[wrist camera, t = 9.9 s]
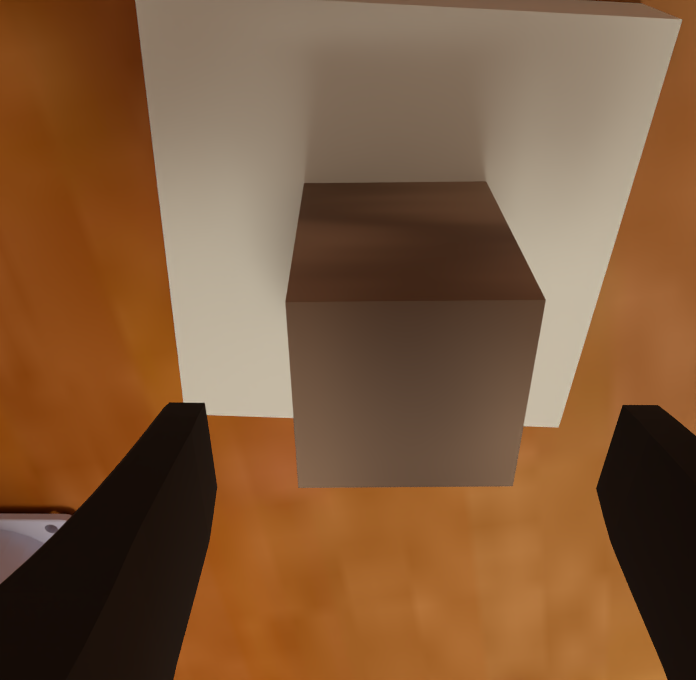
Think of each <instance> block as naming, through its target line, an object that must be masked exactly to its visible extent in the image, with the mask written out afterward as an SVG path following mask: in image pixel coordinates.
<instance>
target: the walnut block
mask: <svg viewBox="0 0 696 680" xmlns="http://www.w3.org/2000/svg"><path fill="white" fill-rule="evenodd" d="M545 302H546V299H545V297H544V295H543V293H542V291H541V289H540V287H539V285H538V283H537V281H536V279H535V277H534V275H533V273H532V271H531V269H530V267H529V265H528V263H527V261H526V259H525V257H524V255H523V253H522V251H521V249H520V247H519V246H518V244H517V242H516V240H515V238H514V236H513V234H512V232H511V230H510V228H509V226H508V224H507V222H506V220H505V218H504V216H503V214H502V212H501V210H500V208H499V206H498V204H497V202H496V200H495V198H494V196H493V194H492V192H491V190H490V188H489V186H488V184H487V182H486V181H474V182H371V183H304V186H303V192H302V199H301V205H300V211H299V218H298V224H297V230H296V237H295V243H294V250H293V256H292V262H291V269H290V275H289V281H288V288H287V294H286V300H285V306H286V320H287V334H288V348H289V362H290V376H291V390H292V404H293V418H294V432H295V446H296V460H297V474H298V488H332V487H468V486H513V482H514V476H515V471H516V465H517V459H518V454H519V448H520V442H521V437H522V431H523V426H524V420H525V414H526V409H527V403H528V397H529V392H530V386H531V381H532V375H533V369H534V364H535V358H536V353H537V347H538V341H539V336H540V330H541V324H542V319H543V313H544V308H545Z"/></svg>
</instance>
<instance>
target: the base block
mask: <svg viewBox="0 0 696 680" xmlns="http://www.w3.org/2000/svg"><path fill="white" fill-rule="evenodd" d="M135 3H136V11H137V19H138V28H139V36H140V44H141V53H142V61H143V69H144V78H145V86H146V94H147V103H148V111H149V119H150V128H151V136H152V144H153V153H154V161H155V169H156V178H157V186H158V194H159V203H160V211H161V219H162V227H163V236H164V244H165V252H166V261H167V269H168V277H169V286H170V294H171V302H172V311H173V319H174V327H175V336H176V344H177V352H178V361H179V369H180V377H181V386H182V394H183V402H184V403H205V407H206V414H207V415H225V416H253V417H281V418H293V404H292V390H291V376H290V362H289V348H288V334H287V320H286V306H285V300H286V294H287V288H288V281H289V275H290V269H291V262H292V256H293V250H294V243H295V237H296V230H297V224H298V218H299V211H300V205H301V199H302V192H303V186H304V183H371V182H474V181H486V182H487V184H488V186H489V188H490V190H491V192H492V194H493V196H494V198H495V200H496V202H497V204H498V206H499V208H500V210H501V212H502V214H503V216H504V218H505V220H506V222H507V224H508V226H509V228H510V230H511V232H512V234H513V236H514V238H515V240H516V242H517V244H518V246H519V247H520V249H521V251H522V253H523V255H524V257H525V259H526V261H527V263H528V265H529V267H530V269H531V271H532V273H533V275H534V277H535V279H536V281H537V283H538V285H539V287H540V289H541V291H542V293H543V295H544V297H545V299H546V302H545V308H544V313H543V319H542V324H541V330H540V336H539V341H538V347H537V353H536V358H535V364H534V369H533V375H532V381H531V386H530V392H529V397H528V403H527V409H526V414H525V420H524V426H535V427H559V424H560V421H561V418H562V414H563V411H564V408H565V404H566V401H567V398H568V395H569V391H570V388H571V385H572V381H573V378H574V375H575V371H576V368H577V365H578V362H579V358H580V355H581V352H582V348H583V345H584V342H585V339H586V335H587V332H588V329H589V325H590V322H591V319H592V315H593V312H594V309H595V306H596V302H597V299H598V296H599V292H600V289H601V286H602V283H603V279H604V276H605V273H606V269H607V266H608V263H609V259H610V256H611V253H612V250H613V246H614V243H615V240H616V236H617V233H618V230H619V227H620V223H621V220H622V217H623V213H624V210H625V207H626V204H627V200H628V197H629V194H630V190H631V187H632V184H633V180H634V177H635V174H636V171H637V167H638V164H639V161H640V157H641V154H642V151H643V148H644V144H645V141H646V138H647V134H648V131H649V128H650V124H651V121H652V118H653V115H654V111H655V108H656V105H657V101H658V98H659V95H660V92H661V88H662V85H663V82H664V78H665V75H666V72H667V68H668V65H669V62H670V59H671V55H672V52H673V49H674V45H675V42H676V39H677V36H678V32H679V29H680V26H681V22H682V19H680V18H677V17H675V16H672V15H670V14H667V13H665V12H662V11H659V10H657V9H654V8H652V7H649V6H647V5H644V4H642V3H626V2H608V1H589V0H135Z"/></svg>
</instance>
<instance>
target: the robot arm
mask: <svg viewBox="0 0 696 680" xmlns="http://www.w3.org/2000/svg"><path fill="white" fill-rule="evenodd" d="M596 489H597V493H598V497H599V501H600V505H601V509H602V513H603V517H604V520H605V524H606V527H607V531H608V534H609V538H610V541H611V544H612V547H613V549H614V552H615V554H616V557H617V559H618V561H619V564H620V566H621V569H622V571H623V573H624V576H625V578H626V581H627V583H628V586H629V588H630V590H631V593H632V595H633V597H634V600H635V602H636V604H637V607H638V609H639V611H640V614H641V616H642V619H643V621H644V623H645V626H646V628H647V630H648V633H649V635H650V637H651V640H652V642H653V644H654V647H655V649H656V652H657V654H658V656H659V659H660V661H661V663H662V666H663V668H664V671H665V674H666V676H667V679H668V680H696V436H695V435H694V434H693V433H692V432H690V431H689V430H688V429H687V428H686V427H684V426H683V425H682V424H681V423H680V422H678V421H677V420H676V419H675V418H674V417H672V416H671V415H670V414H669V413H667V412H666V411H665V410H663V409H662V408H661V407H660V406H658V405H623V406H622V409H621V412H620V415H619V418H618V421H617V425H616V428H615V431H614V434H613V437H612V440H611V444H610V447H609V450H608V453H607V456H606V459H605V462H604V466H603V469H602V472H601V475H600V478H599V481H598V485H597V488H596ZM216 491H217V483H216V476H215V469H214V462H213V455H212V448H211V441H210V434H209V428H208V421H207V414H206V407H205V403H169V404H167V405H166V406H165V407H164V408H163V409H162V411H161V412H160V413H159V415H158V416H157V417H156V418H155V420H154V421H153V422H152V423H151V425H150V426H149V427H148V429H147V430H146V431H145V432H144V434H143V435H142V436H141V437H140V439H139V440H138V441H137V442H136V444H135V445H134V446H133V447H132V448H131V450H130V451H129V452H128V453H127V454H126V456H125V457H124V458H123V459H122V461H121V462H120V463H119V464H118V465H117V466H116V467H115V469H114V470H113V471H112V472H111V473H110V474H109V476H108V477H107V478H106V479H105V480H104V481H103V482H102V484H101V485H100V486H99V487H98V488H97V489H96V490H95V492H94V493H93V494H92V495H91V496H90V497H89V498H88V499H87V500H86V501H85V502H84V503H83V504H82V506H81V507H80V508H79V509H78V510H77V511H76V512H75V513H74V514H73V515H69V514H6V513H0V680H173V678H174V674H175V670H176V665H177V661H178V657H179V654H180V650H181V646H182V642H183V639H184V635H185V631H186V628H187V624H188V620H189V616H190V613H191V609H192V605H193V601H194V598H195V594H196V590H197V586H198V583H199V579H200V575H201V571H202V567H203V564H204V560H205V556H206V552H207V548H208V544H209V540H210V534H211V527H212V520H213V513H214V506H215V498H216Z"/></svg>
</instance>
